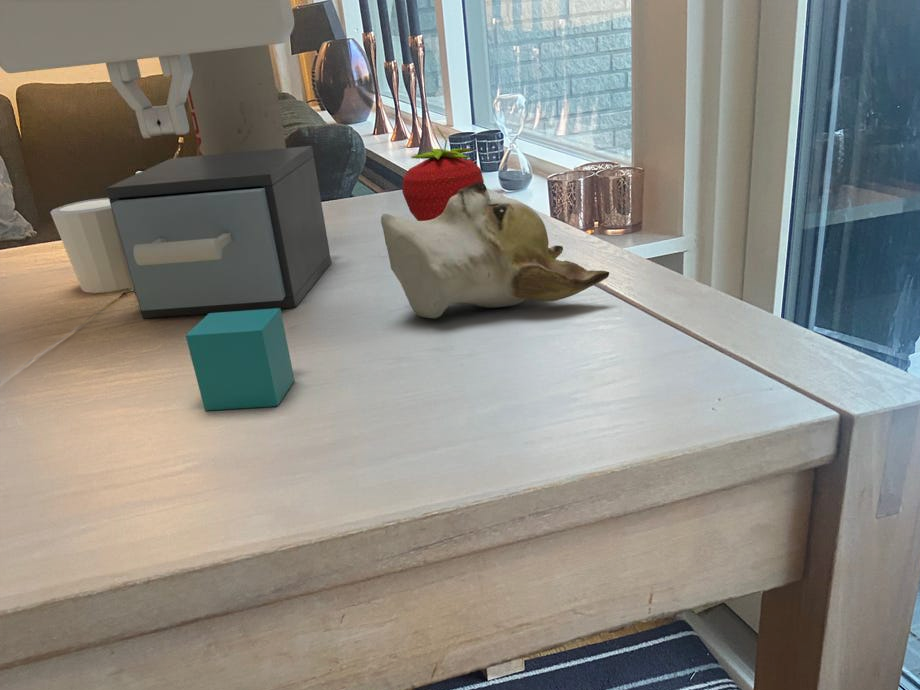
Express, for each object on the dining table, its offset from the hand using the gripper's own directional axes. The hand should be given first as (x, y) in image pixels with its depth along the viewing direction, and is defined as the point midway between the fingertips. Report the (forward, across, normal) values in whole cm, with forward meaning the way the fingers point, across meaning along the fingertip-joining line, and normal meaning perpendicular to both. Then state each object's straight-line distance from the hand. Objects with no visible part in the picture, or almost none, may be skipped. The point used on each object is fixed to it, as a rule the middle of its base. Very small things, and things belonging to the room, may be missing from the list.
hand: (166, 135), depth 67 cm
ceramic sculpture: (+13, -22, +1) cm, 26 cm away
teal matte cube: (+13, -8, +17) cm, 23 cm away
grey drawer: (+12, 0, -5) cm, 13 cm away
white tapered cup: (+13, +13, -14) cm, 23 cm away
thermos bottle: (+13, +2, -25) cm, 28 cm away
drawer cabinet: (+13, 0, -10) cm, 16 cm away
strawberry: (+13, -17, -19) cm, 28 cm away
